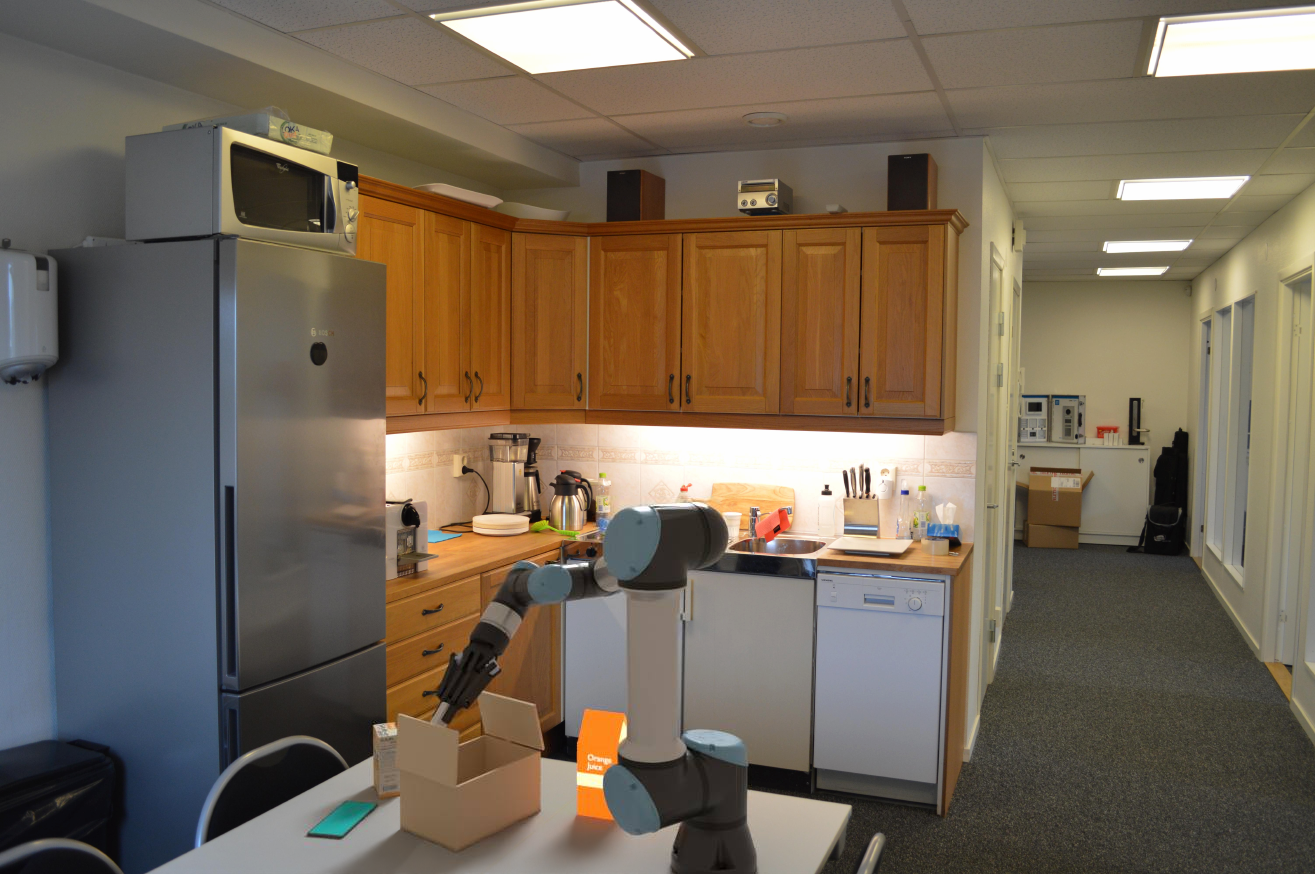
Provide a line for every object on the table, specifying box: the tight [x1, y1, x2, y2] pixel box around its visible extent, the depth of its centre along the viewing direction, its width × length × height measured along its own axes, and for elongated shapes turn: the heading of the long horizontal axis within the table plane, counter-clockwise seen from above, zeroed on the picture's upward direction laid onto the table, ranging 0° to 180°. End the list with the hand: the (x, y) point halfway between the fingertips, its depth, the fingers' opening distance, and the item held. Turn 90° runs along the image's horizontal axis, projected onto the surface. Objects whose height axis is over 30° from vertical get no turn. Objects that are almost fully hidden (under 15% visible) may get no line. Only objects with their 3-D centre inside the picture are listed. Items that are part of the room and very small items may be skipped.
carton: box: [399, 734, 542, 853], centre depth 182 cm, size 16×22×12 cm
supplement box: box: [372, 721, 400, 800], centre depth 196 cm, size 8×5×13 cm, turn 25°
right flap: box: [476, 690, 546, 751], centre depth 190 cm, size 17×10×1 cm
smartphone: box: [306, 800, 379, 840], centre depth 182 cm, size 7×1×15 cm
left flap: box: [395, 713, 460, 788], centre depth 173 cm, size 17×10×1 cm
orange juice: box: [576, 709, 626, 821], centre depth 187 cm, size 8×9×20 cm
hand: (430, 736), depth 174 cm, fingers closed
